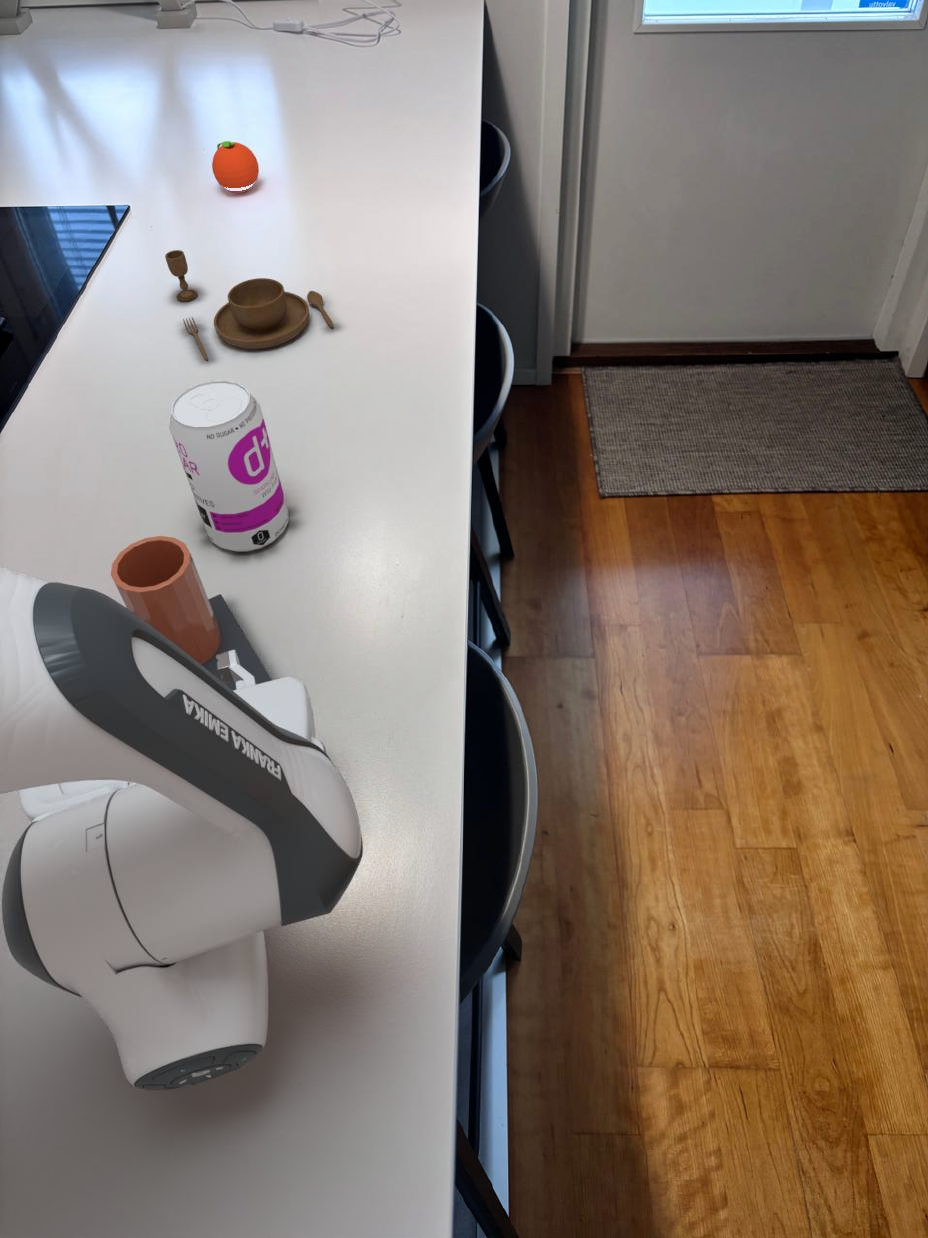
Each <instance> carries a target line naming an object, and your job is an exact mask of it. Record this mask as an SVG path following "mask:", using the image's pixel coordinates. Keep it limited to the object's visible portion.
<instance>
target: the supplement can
mask: <svg viewBox="0 0 928 1238" xmlns="http://www.w3.org/2000/svg"><path fill="white" fill-rule="evenodd" d="M170 413H171V414H170V418H169V424H168V425H169V426H168V429H169V431H170V434H171V438H172V439H173V443H174V446H175V448H176V451H177V453H178V457H179V460H180V462H181V465H182V468H183V471H184V473H185V476H186V479H187V481H188V484H189V488H190V490H191V493H192V495H193V499H194V501H195V504H196V506H197V510H198V512H199V515H200V517H201V520H202V524H203V526H204V530H205V532H206V534H207V536H208V538H209V540H210V541H211V542H212V543H213V544H215V545H216V546H217V547H219V548H221V549H225V550H228V551H233V552H237V553H238V552H239V553H240V552H243V553H244V552H252V551H255V550H260V549H262V548H264V547H266V546H268V545H270V544H272V543H273V542H274V541H276V539H278V537H280V536H281V534H283V533H284V531H285V530H286V528H287V525H288V523H289V522H290V521H289V520H290V519H289V509H288V506H287V501H286V497H285V494H284V489H283V486H282V482H281V479H280V475H279V471H278V467H277V463H276V460H275V456H274V451H273V449H272V444H271V441H270V437H269V434H268V430H267V426H266V423H265V418H264V414H263V411H262V407H261V404H260V403H259V402H258V400H257V399H256V397H254V396H253V395H252V394H251V393H250V392H249V390H248V389H247V387H246V386H244V385H242V384H241V383H239V382H237V381H232V380H227V379H215V380H214V379H213V380H208V381H204V382H199V383H197V384H195V385H192V386H190V387H188V388H186V389H185V390H184V391H182V392H181V393H179V394H178V395H177V396H176V397H175V399H174V400H173V402H172V404H171V412H170Z"/></svg>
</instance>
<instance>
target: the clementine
mask: <svg viewBox="0 0 928 1238" xmlns="http://www.w3.org/2000/svg"><path fill="white" fill-rule="evenodd" d="M216 145H217V146H216V151H215V153H214V154H213V157H212V162H211V168H212V173H213V175H214V178H215V181H216V182H217V183H218V184H219V185H220V186H221V187H222V186H223V187H226V188H227V187H228V188H241V187H246V186H249V185H251V184H253V183H254V182H255V181H256V182H257V180H258V178H259V172H260V168H259V167H260V166H259V162H258V160H257V157H256V156H255V153H254V152H253V151H252V150H251V149H250V148H249V147H248V146H247V145H245V144H242V143H240V142H236V141H229V140H226V141H225V140H224V141H222V142H220V143H218V144H216ZM256 182H255V183H256ZM223 187H222V188H223ZM250 189H252V187H250V188H249V189H246V190H242V191H229V190H227V191H228V192H231V193H235V194H236V193H243V192H247V191H249V190H250Z"/></svg>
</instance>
